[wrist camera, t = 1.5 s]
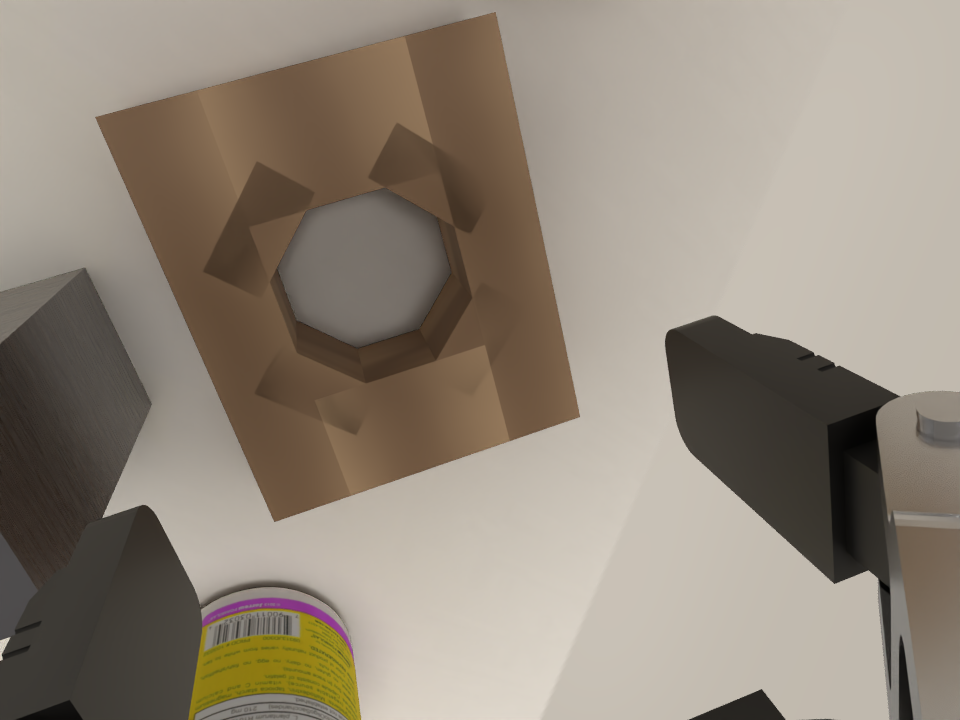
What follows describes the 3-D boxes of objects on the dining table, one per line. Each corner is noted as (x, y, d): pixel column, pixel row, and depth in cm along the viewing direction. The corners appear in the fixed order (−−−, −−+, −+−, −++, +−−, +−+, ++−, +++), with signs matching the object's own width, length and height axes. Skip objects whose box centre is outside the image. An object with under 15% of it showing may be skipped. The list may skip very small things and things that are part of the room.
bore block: (468, 21, 21) (495, 12, 18) (549, 381, 26) (580, 416, 23) (122, 112, 20) (94, 116, 17) (276, 473, 24) (274, 522, 22)
